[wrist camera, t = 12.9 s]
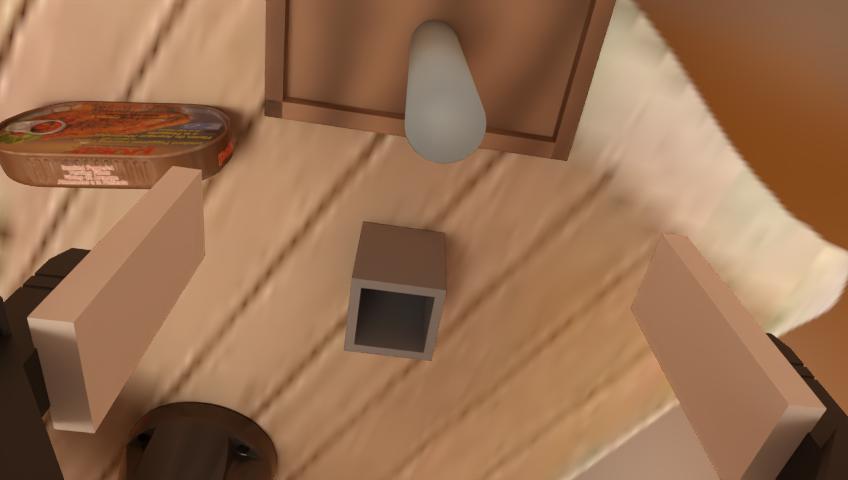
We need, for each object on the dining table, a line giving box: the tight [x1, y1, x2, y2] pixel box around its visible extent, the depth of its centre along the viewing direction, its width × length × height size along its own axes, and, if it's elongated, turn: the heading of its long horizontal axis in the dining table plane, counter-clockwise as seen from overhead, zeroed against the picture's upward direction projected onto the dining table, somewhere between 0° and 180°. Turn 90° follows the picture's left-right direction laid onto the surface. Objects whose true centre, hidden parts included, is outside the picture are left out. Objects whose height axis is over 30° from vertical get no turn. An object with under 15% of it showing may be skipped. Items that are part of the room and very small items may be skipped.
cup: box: [344, 222, 447, 361], centre depth 45 cm, size 7×7×8 cm
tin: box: [0, 102, 233, 189], centre depth 39 cm, size 15×3×8 cm, turn 88°
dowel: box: [405, 19, 486, 163], centre depth 30 cm, size 3×3×18 cm
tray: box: [265, 0, 616, 161], centre depth 38 cm, size 22×13×2 cm, turn 81°
